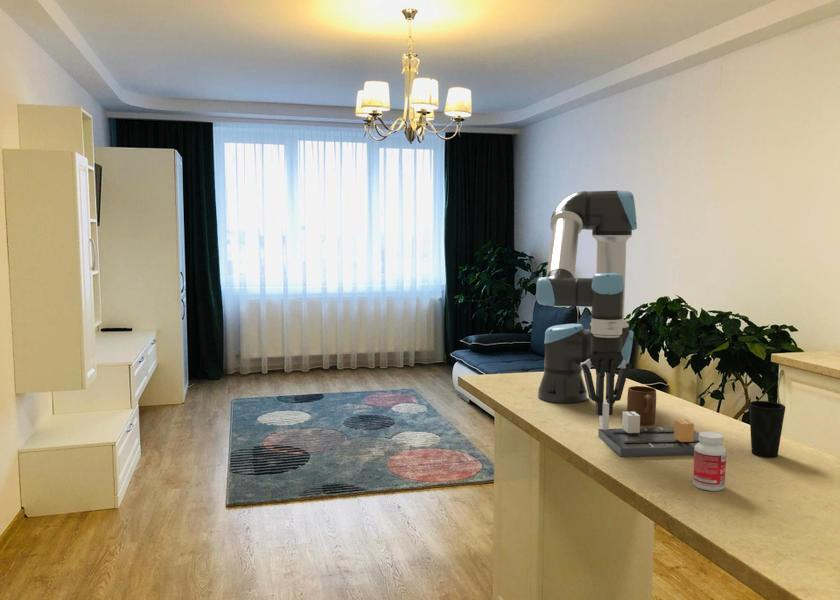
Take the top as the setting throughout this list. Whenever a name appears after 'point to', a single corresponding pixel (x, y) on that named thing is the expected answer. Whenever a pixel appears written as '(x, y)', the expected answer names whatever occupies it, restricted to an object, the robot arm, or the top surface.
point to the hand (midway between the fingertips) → (603, 427)
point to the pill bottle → (709, 462)
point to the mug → (642, 403)
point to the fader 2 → (683, 430)
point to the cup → (766, 427)
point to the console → (647, 442)
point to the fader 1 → (631, 422)
